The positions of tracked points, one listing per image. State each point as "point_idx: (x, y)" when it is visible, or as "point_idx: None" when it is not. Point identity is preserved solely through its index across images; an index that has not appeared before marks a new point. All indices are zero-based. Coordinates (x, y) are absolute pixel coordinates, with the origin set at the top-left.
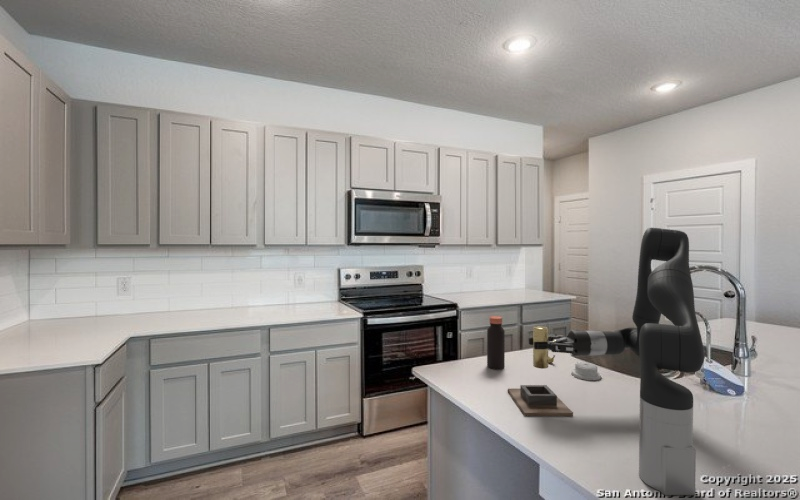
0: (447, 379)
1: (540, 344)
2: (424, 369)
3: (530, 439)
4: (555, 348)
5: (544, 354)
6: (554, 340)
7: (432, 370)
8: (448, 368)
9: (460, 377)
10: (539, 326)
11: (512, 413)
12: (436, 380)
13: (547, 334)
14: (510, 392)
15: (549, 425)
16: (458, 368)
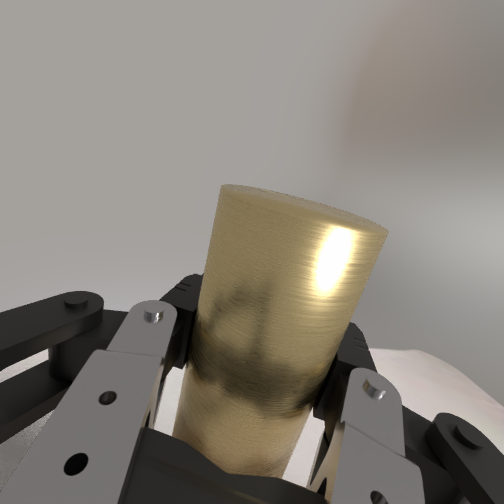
0: (387, 375)
1: (180, 284)
2: (436, 362)
3: (27, 361)
4: (48, 352)
5: (179, 398)
6: (129, 352)
7: (438, 373)
8: (480, 414)
9: (416, 410)
10: (386, 230)
11: (160, 406)
12: (373, 354)
13: (217, 262)
14: (288, 481)
15: (9, 468)
16: (501, 442)
